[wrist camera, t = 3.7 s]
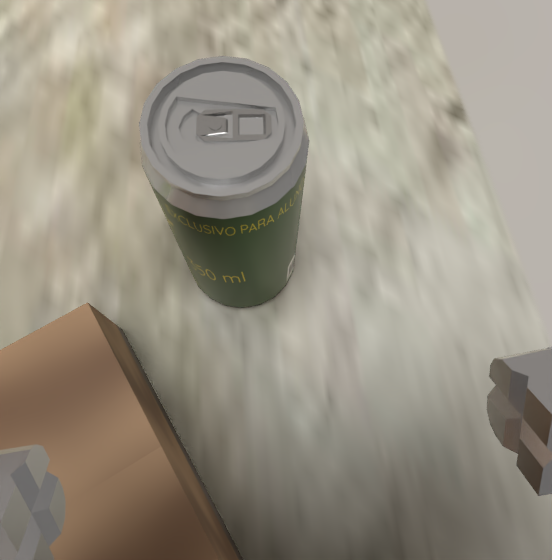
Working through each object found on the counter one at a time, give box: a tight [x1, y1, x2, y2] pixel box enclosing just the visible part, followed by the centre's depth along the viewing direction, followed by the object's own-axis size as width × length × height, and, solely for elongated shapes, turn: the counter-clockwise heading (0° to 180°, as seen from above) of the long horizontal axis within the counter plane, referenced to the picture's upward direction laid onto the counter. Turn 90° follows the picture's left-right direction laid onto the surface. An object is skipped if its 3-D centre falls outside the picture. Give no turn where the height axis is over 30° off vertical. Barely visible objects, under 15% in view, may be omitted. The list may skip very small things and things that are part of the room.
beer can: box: [139, 56, 309, 308], centre depth 21 cm, size 5×5×12 cm
